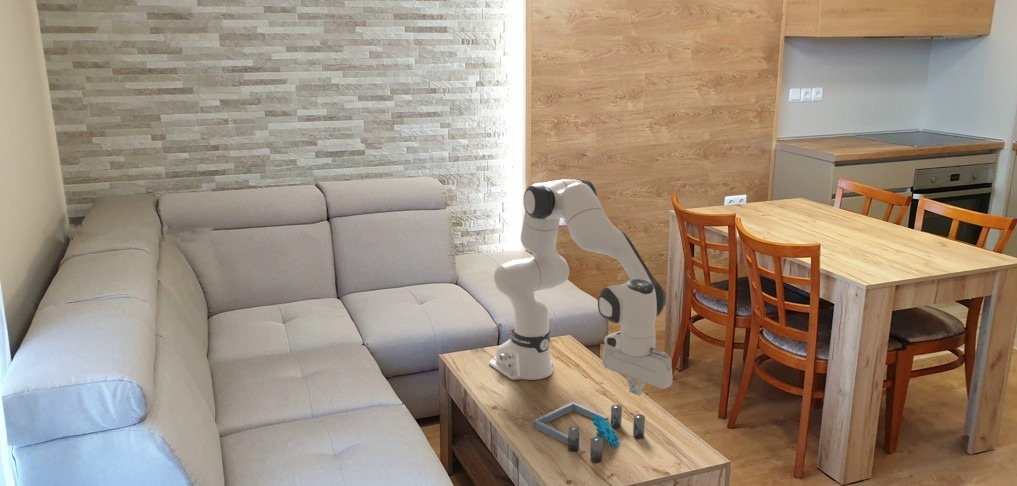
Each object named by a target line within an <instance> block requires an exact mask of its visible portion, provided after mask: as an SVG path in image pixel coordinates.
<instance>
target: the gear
mask: <svg viewBox="0 0 1017 486" xmlns="http://www.w3.org/2000/svg"><path fill="white" fill-rule="evenodd" d="M591 419H592V420H593V422H592V424H593V425H594V426H595V427H596V428H595V430H596V433H595V434H596V436H595V437H601V438H602V439H603V440H604V441H605V440H606V439H607V441H606V442H607V444H608V445H609V446H612V447H613V448H617V447H618V446H619V445H620V444H621V442H620V441H619V440H620V438H619V436H617V435H616V430H615V429H614V428H612V427H611V423H610V421H609V419H608V420H607V421H605V420H604V418H602V417H601V418H600V417H599V416H598V415H596V416H595V417H593V418H591ZM604 421H605V422H604Z"/></svg>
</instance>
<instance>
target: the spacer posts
mask: <svg viewBox="0 0 1017 486" xmlns="http://www.w3.org/2000/svg"><path fill="white" fill-rule="evenodd" d="M610 409H611V410H610V427H611V429H613V430H615V429H617V430H618V429H621V428H622V421H623V420H622V417H623V414H622V413H623V406H622V405H621V404H612V405H611V407H610ZM645 421H646V416H645V415H644V414H640V413H639V414H638V413H637V414H634V415H633V426H632V427H633V428H632V429H633V433H632V436H633V438H634V439H636V440H642V439H644V437H645V424H646V422H645ZM567 430H568V431H567V435H568V444H567V450H568V451H569V452H578V451H580V427H579V426H576V425H570V426H568V428H567ZM603 440H604V439H603V438H602V437H596V436H592V437H591V438H590V462H592V463H593V464H600V463H602V461H603V443H604V441H603Z"/></svg>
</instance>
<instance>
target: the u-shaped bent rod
mask: <svg viewBox="0 0 1017 486" xmlns="http://www.w3.org/2000/svg"><path fill="white" fill-rule="evenodd" d="M572 411H574V412H576V413H579V414H581V415H582V416H583V415H584V416H585V417H587V418H590V419H592V418H593V417H595V416H596V415H598V416H599V417H600V418H601V417H602V418H604V420H605V421H607V420H608V421H609V417H608V416H606V415H605V414H602V413H600V412H597V411H595V410H593V409H590V408H588V407H586V406H583V405H582V404H579V403H577V402H574V401H572V402H569V403H567V404H565V405H563V406H561V407H558V408H557V409H555V410H553V411H551V412H548V413H546V414H544V415H542V416H540V417H538V418H536V419H534V420H532V428H534V429H536V430H538V431H540V432H542V433H544V434H545V435H548V436H550V437H552V438H554V439H555V440H558V441H560V442H561V443H563V444H565V445H568V434H566V433H564V432H562V431H560V430H558V429H555V428H554V427H552V426H550V425H547V423H549V422H551V421H553V420H556V419H557V418H560V417H562V416H564V415H566V414H568V413H570V412H572ZM605 421H604V422H605Z"/></svg>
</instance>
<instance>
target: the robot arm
mask: <svg viewBox="0 0 1017 486" xmlns="http://www.w3.org/2000/svg"><path fill="white" fill-rule="evenodd" d="M597 195H598V193H597V189H596V187H595V186H594V184H593V183H592V182H591V181H590V180H589V179H583V178H576V179H569V178H567V179H566V178H565V179H558V180H552V181H551V180H550V181H547V182H546V181H545V182H537V183H533V184H531V185H528V187H527V188H526V190H525V191H524V195H523V207H524V209H525V211H524V215H523V221H522V226H521V232H520V242H521V245H522V246H523V248H524V249H525V250H526V251H528V252H529V253H532V254H531V256H529V257H525V258H517V259H511V260H508V261H505V262H503V263H501V264H499V265H497V267H496V268H495V270H494V272H493V273H494V274H493V281H494V285H495V287H496V289H497V290H498V291H499V293H501V294H503V295H504V296H506V298H507V299H509V301H510V303H511V305H512V308H513V315H514V317H513V318H514V328H513V329H511V330H509V331H508V332H509V333H508V334H509V335H511V337H510V339H508V340H507V341H505V342H503V343H502V344H500V345H499V347H497V350H496V356H494V357H493V358H491V359H490V360H489V363H488V365H489V366H490V367H492V368H493V369H495V370H497V371H498V372H499V373H501V374H502V375H504V376H505V377H506V378H508V379H509V380H514V381H515V380H529V381H530V380H531V381H532V380H534V381H535V380H536V381H537V380H542V379H545V378H547V377H550V376H551V375H552V374H553V373H554V369H553V360H552V356H551V354H552V353H551V347H550V346H551V345H550V341H551V332H550V330H549V327H550V324H549V321H550V319H549V318H550V312H549V309H548V307H547V305H546V304H545V303H544V302H542V301H540V300H537V299H535V292H538V291H539V292H540V291H545V290H549V289H554V288H556V287H560V286H561V285H564V284H565V283H566V282H568V279H569V275H570V267H569V264H568V262H567V260H566V259H565V258H564V257H563V256H562V255H560V254H559V252H558V250H557V239H558V232H559V227H560V222H561V219H564V222H565V225H566V228H567V230H568V232H569V235H570V237H571V239H572V241H573V242H574V243H575V244H576V245H577V247H579V248H581V249H583V250H585V251H587V252H592V253H593V252H594V253H598V254H603V255H606V256H609V257H611V258H613V259H615V260H617V261H618V262H619V263H620V264H621V266H622V268H623V269H624V271H625V272H626V274H627V275H628V278H629V279H628V280H626V281H625V282H624V283H621V284H614V285H609V286H606V287H605V286H604V288H602V290H601V291H600V293H599V295H598V299H597V309H598V313H599V315H600V316H601V317H602V318H603V319H605V320H606V322H607V321H608V322H609V323H612V324H619V325H620V330H619V331H615V332H613V333H610V334H608V335H606V336H605V337H604V340H603V341H604V346H603V348H602V354H601V355H602V358H601V359H602V361H601V362H602V366H603V367H604V368H605V369H608V370H610V371H613V372H616V373H619V374H621V375H623V376H625V380H626V382H627V384H628V387H629V388H628V389H629V391H628V392H629V393H632V394H634V395H637V396H641V395H642V394H643V390H644V389H643V388H644V387H645V386H646V384H648V385H649V386H652V387H655V388H658V389H661V390H665V389H667V388H669V387H670V386H672V384H673V381H674V380H673V379H674V378H673V367H672V365H673V361H672V358H671V356H670V355H668V352H666V351H661V350H659V349H657V348H656V335H657V331H656V328H655V323H656V319H657V317H659V316H660V314H661V313H662V312H663V311H664V309H665V306H666V303H667V294H666V292H665V290H664V288H663V286H662V285H661V283H659V281H658V280H657V279H656V278H655V276H653V274H652V273H651V271H650V269H649V267H647V265H646V263H645V261H644V260H643V258H642V257H641V255H640V253H639V252H638V250H637V249H636V247H635V245H634V244H633V242H632V241H631V240H630V238H629V237H628V235H627V234H626V233H625V232H623V231H622V230H620V229H619V228H618V227H616V226H615V225H614V224H613V223H612V222H611V221H610V219H609V218H608V216H607V214H606V213H605V210H604V208H603V205H602V204H601V202H600V200H599V199H598V197H597ZM635 380H637V382H636V381H635ZM636 383H637V384H638V385H636Z"/></svg>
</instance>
